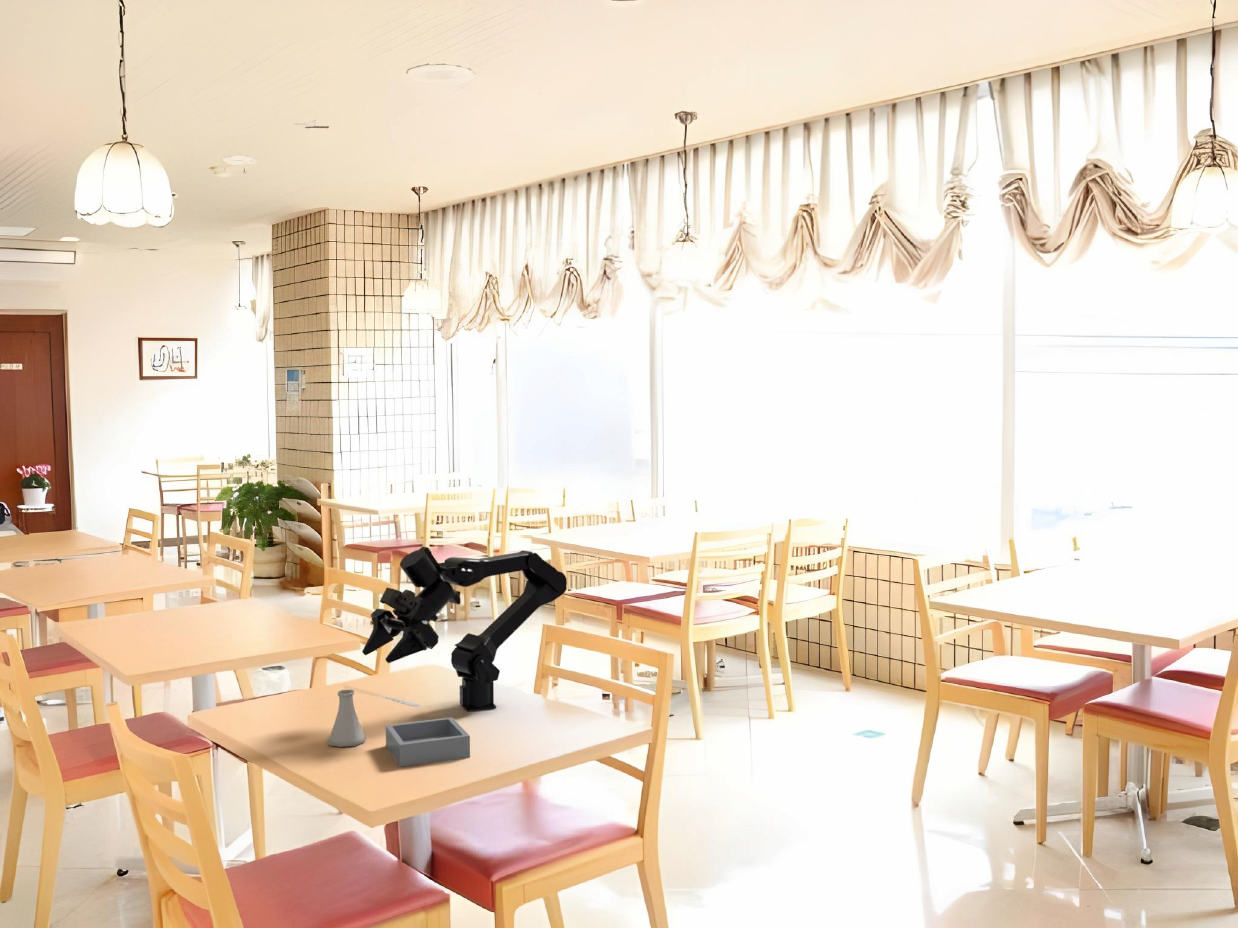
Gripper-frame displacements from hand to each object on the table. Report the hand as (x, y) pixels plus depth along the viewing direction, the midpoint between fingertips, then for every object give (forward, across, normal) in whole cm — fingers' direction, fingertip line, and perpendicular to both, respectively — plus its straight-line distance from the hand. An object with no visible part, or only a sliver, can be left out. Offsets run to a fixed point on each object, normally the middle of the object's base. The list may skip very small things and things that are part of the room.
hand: (375, 657), depth 210 cm
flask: (+15, +2, +8) cm, 17 cm away
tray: (+8, +18, +12) cm, 23 cm away
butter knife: (-2, -23, +20) cm, 31 cm away
